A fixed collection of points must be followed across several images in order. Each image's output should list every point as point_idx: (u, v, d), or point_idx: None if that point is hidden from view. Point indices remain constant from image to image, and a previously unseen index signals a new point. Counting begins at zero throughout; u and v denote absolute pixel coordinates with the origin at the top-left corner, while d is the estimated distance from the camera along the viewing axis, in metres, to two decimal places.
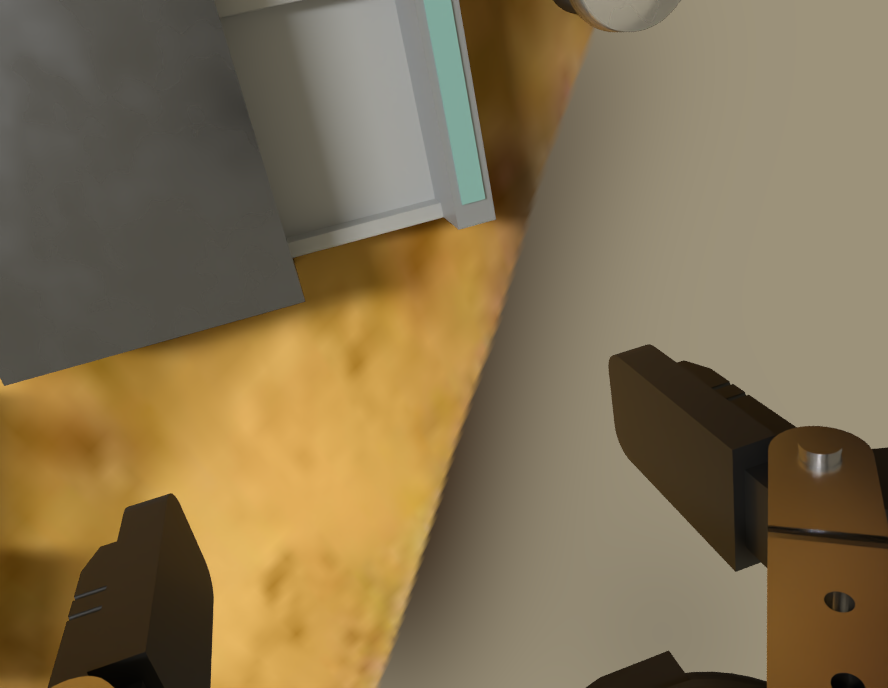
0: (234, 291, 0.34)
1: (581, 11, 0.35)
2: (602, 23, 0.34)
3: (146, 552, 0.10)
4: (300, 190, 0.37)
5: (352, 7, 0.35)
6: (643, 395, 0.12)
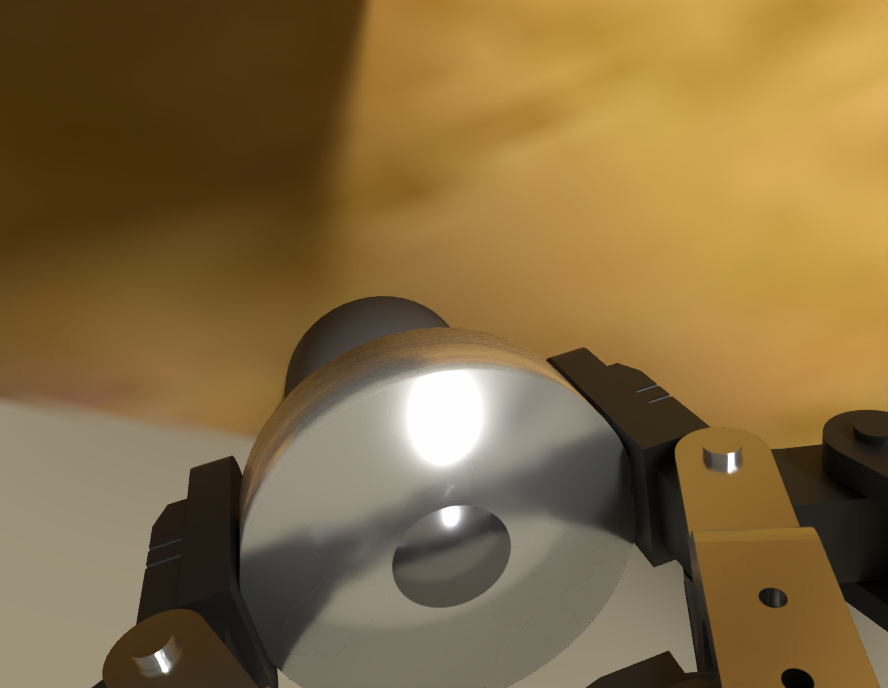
0: None
1: (289, 414, 0.10)
2: (257, 497, 0.09)
3: (217, 506, 0.11)
4: None
5: None
6: None
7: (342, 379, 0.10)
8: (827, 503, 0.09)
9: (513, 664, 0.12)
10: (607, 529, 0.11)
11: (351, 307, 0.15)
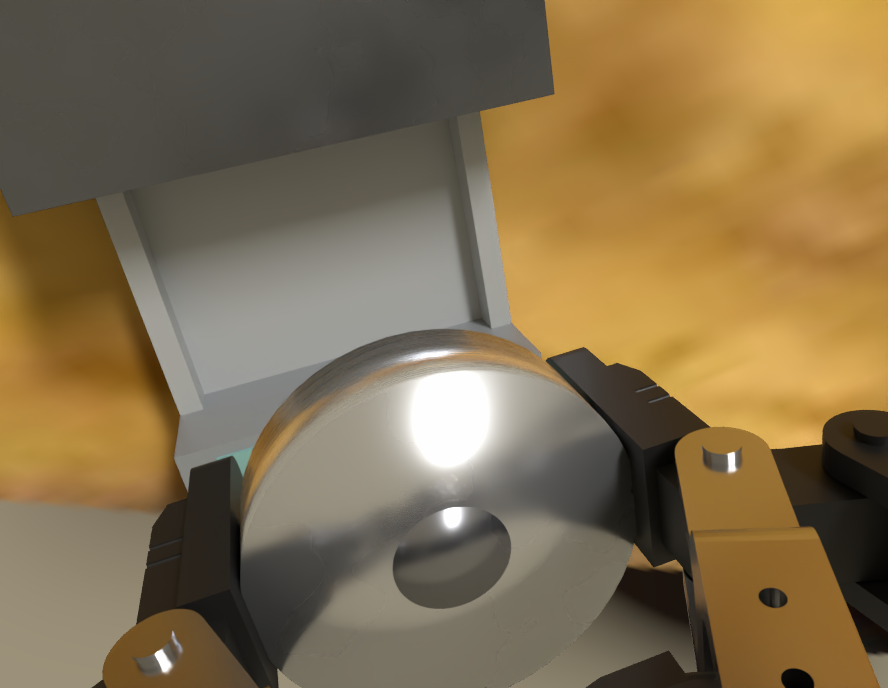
0: (21, 82, 0.17)
1: (289, 416, 0.10)
2: (257, 499, 0.10)
3: (217, 506, 0.11)
4: (205, 195, 0.24)
5: (454, 272, 0.27)
6: None
7: (343, 380, 0.10)
8: (826, 502, 0.09)
9: (513, 665, 0.12)
10: (607, 530, 0.11)
11: None
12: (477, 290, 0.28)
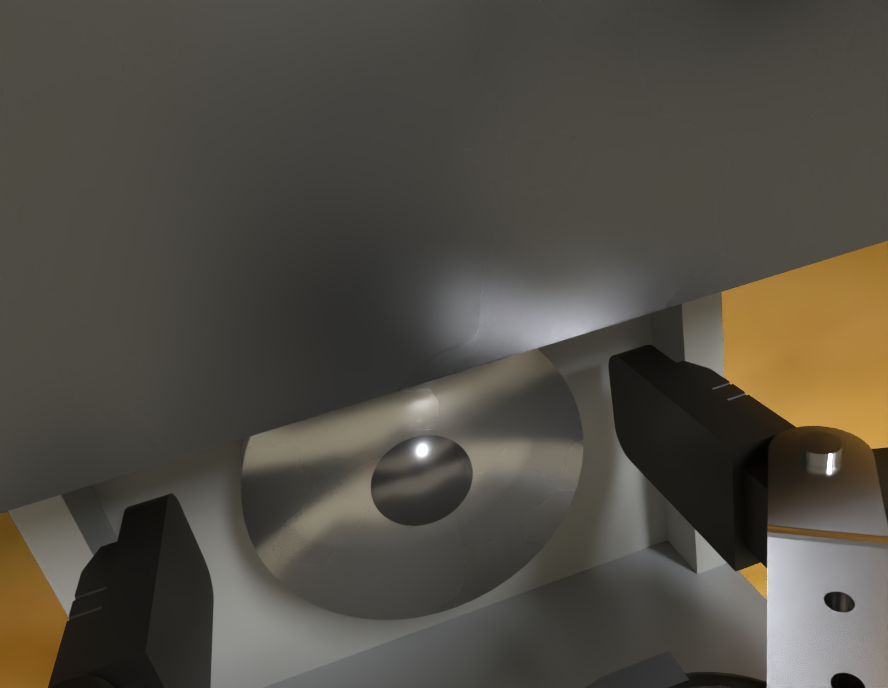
0: None
1: None
2: None
3: (146, 552, 0.10)
4: None
5: (631, 477, 0.16)
6: (643, 395, 0.12)
7: None
8: None
9: (477, 580, 0.14)
10: (556, 460, 0.13)
11: None
12: (665, 501, 0.16)
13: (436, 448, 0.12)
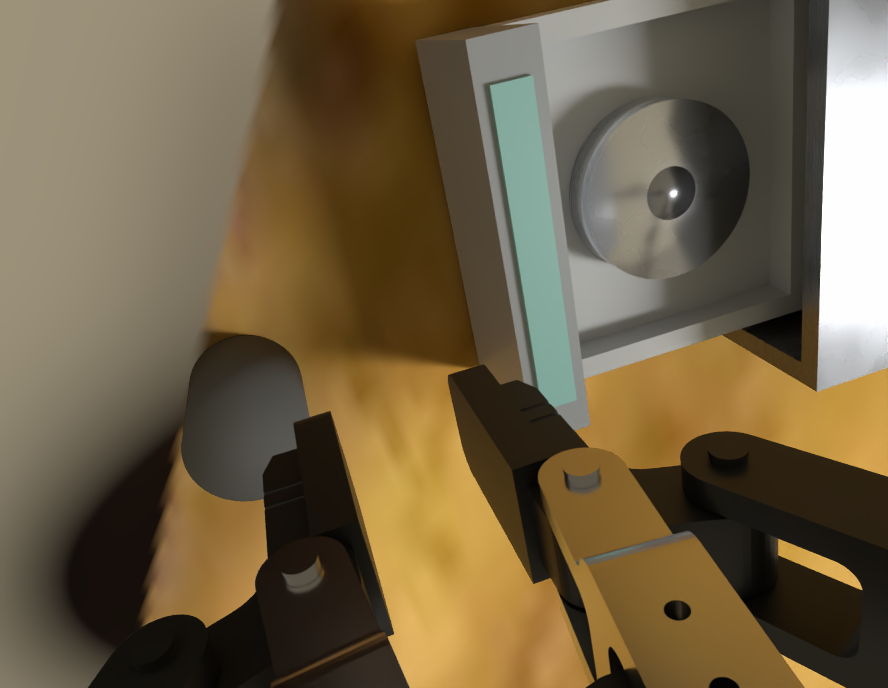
0: None
1: None
2: (717, 110, 0.24)
3: (328, 452, 0.12)
4: (693, 77, 0.25)
5: (588, 322, 0.27)
6: (467, 414, 0.13)
7: None
8: (677, 524, 0.09)
9: (604, 227, 0.24)
10: (662, 265, 0.25)
11: (299, 370, 0.26)
12: None
13: (687, 199, 0.24)
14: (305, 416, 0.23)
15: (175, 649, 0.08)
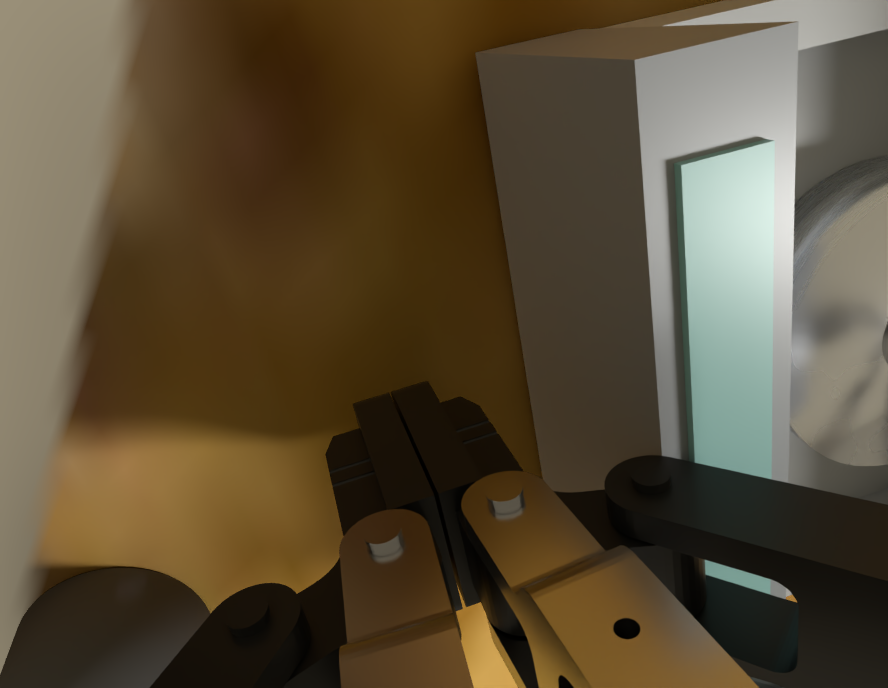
0: None
1: None
2: None
3: (393, 432, 0.12)
4: None
5: None
6: (407, 432, 0.12)
7: None
8: None
9: (803, 385, 0.13)
10: (884, 444, 0.15)
11: (206, 617, 0.16)
12: None
13: None
14: None
15: (269, 617, 0.08)
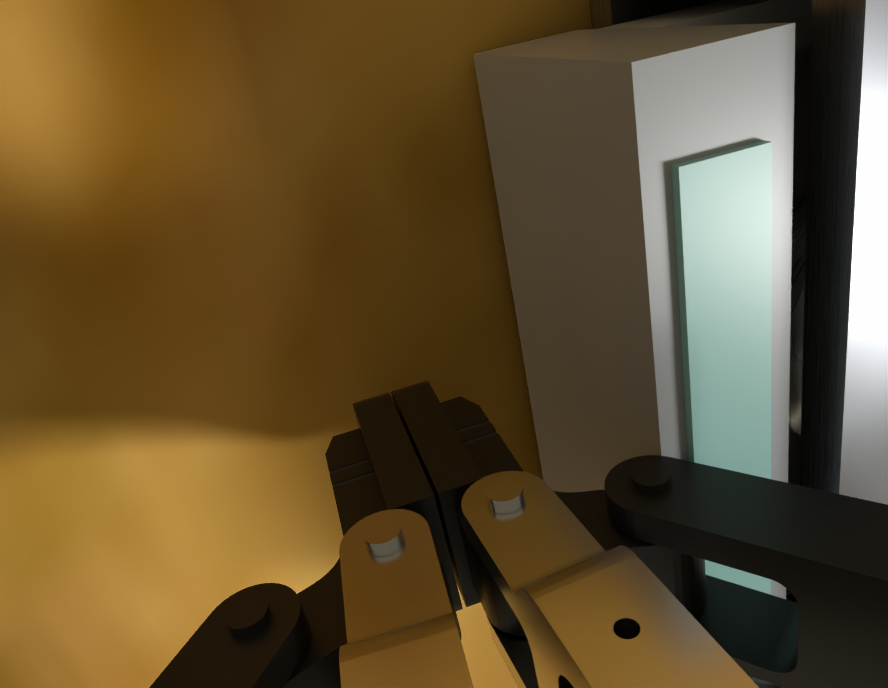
0: None
1: None
2: None
3: (393, 432, 0.12)
4: None
5: None
6: (406, 433, 0.12)
7: None
8: None
9: None
10: None
11: None
12: None
13: None
14: None
15: (270, 617, 0.08)
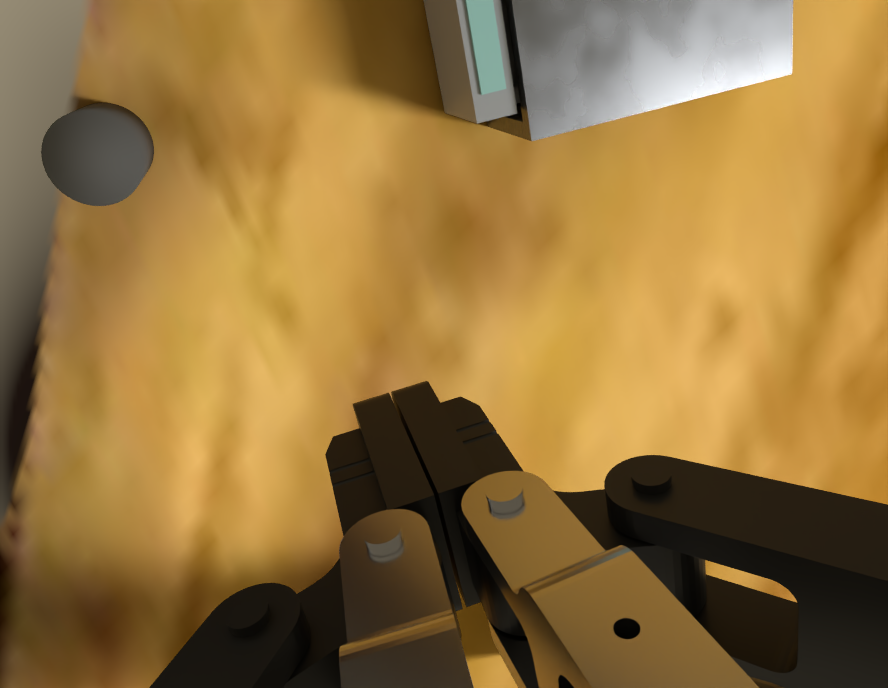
0: None
1: None
2: None
3: (393, 432, 0.12)
4: None
5: None
6: (406, 432, 0.12)
7: None
8: None
9: None
10: None
11: (149, 133, 0.35)
12: None
13: None
14: (135, 138, 0.31)
15: (269, 617, 0.08)
